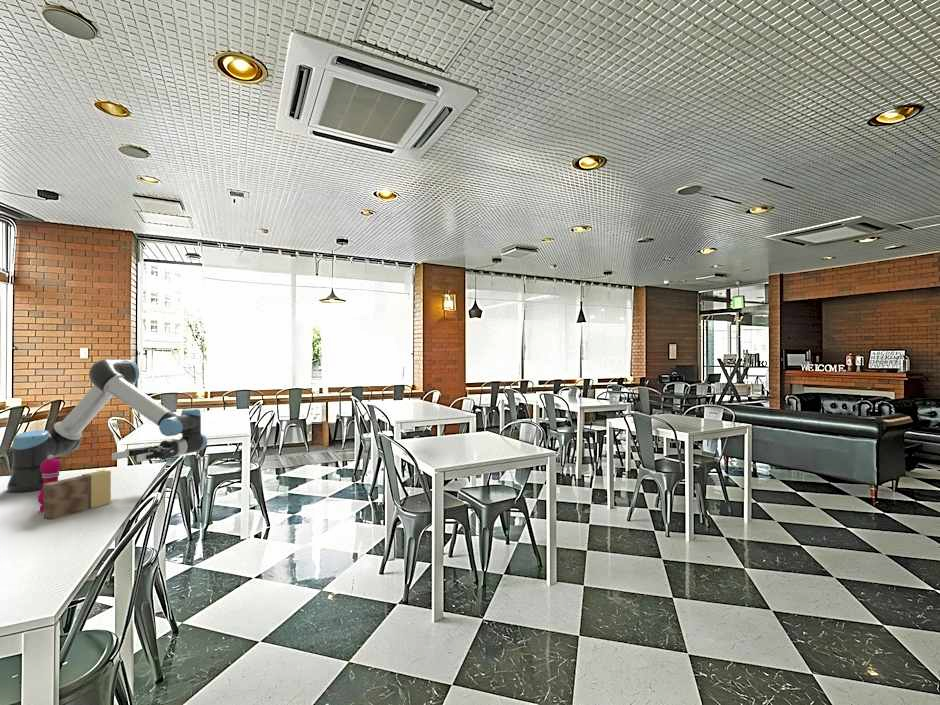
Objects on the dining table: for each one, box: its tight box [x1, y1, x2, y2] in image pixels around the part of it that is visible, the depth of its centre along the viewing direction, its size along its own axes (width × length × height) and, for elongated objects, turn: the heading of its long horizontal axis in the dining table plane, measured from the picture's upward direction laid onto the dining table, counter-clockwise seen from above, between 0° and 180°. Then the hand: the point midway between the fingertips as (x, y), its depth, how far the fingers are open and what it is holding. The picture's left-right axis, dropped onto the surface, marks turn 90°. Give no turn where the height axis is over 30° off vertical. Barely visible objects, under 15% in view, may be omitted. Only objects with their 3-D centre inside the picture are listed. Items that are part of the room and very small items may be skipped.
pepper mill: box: [37, 455, 62, 513], centre depth 188 cm, size 7×7×20 cm
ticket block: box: [43, 475, 89, 521], centre depth 183 cm, size 12×4×12 cm, turn 160°
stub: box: [80, 469, 112, 510], centre depth 193 cm, size 8×4×12 cm, turn 160°
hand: (124, 457), depth 202 cm, fingers open, 13 cm apart
